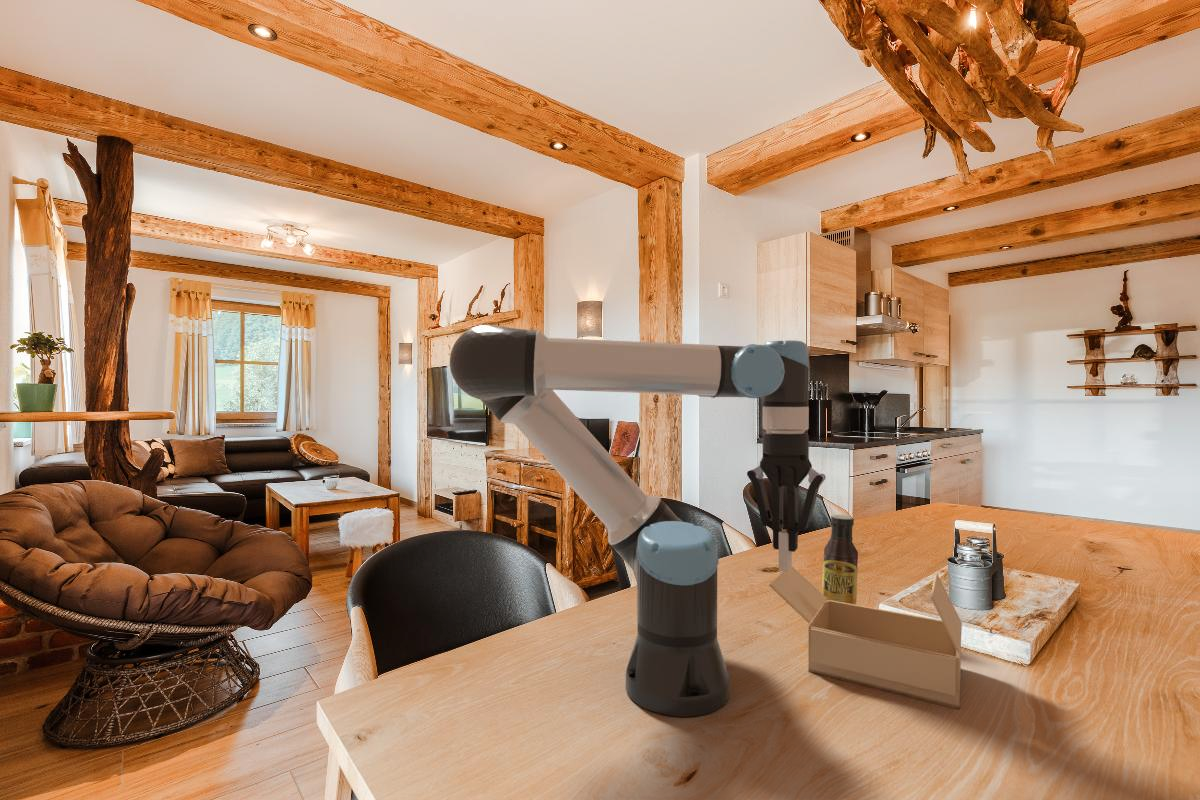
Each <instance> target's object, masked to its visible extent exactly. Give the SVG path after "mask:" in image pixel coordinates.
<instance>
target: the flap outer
mask: <svg viewBox="0 0 1200 800" xmlns="http://www.w3.org/2000/svg"><path fill="white" fill-rule="evenodd" d="M949 596H950V595H948V592H947V591H946V588H945V586H944V584H943V583H942V580H941V578H940V576H939V575H938V572H937V573H934V577H933V583H932V588H931V592H930V599H931V601H932V604H933V606H934V608H935V610H936V611H937V613H938V615H939V617H940V620H942V622H943V624H944V626H945V628H946V630H947V632H948V634H949V636H950V638H951V640H952V642H953V644H954V646H955V648H956V650H957V652H958V654H960V653H961V654H962V646H961V645H962V631H963V630H962V629H963V628H962V627H963V622H962V621H961V618H960V617H959V616H960V615H958V612H957V611H956V609H955V606H954V604H953V602H952V601H951V598H950V597H949Z"/></svg>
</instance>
